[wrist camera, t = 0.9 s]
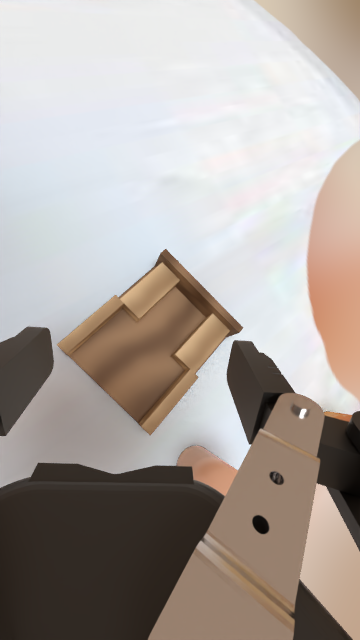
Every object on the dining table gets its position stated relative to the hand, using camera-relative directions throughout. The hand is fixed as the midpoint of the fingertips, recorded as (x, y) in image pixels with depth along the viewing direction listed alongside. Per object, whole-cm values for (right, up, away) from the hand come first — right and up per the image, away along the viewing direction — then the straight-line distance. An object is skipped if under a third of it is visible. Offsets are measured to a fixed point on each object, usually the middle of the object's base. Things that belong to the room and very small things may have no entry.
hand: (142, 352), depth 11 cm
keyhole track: (-2, -1, +24) cm, 24 cm away
